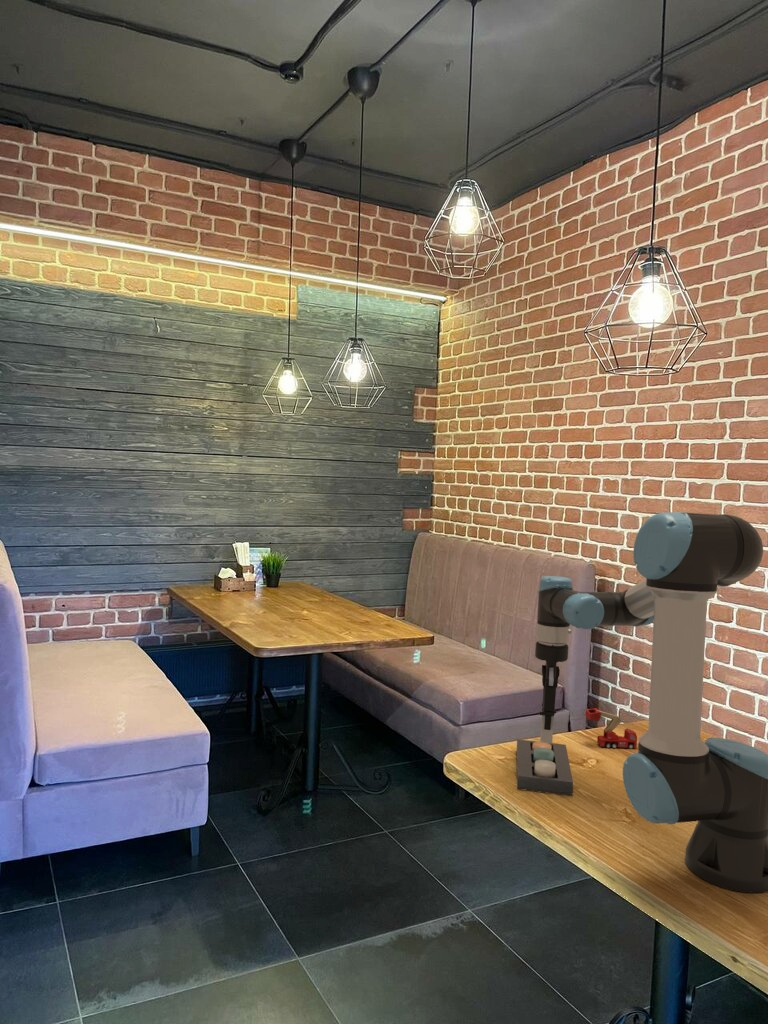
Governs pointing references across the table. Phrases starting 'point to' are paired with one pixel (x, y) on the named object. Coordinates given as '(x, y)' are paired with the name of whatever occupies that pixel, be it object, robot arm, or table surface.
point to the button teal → (543, 754)
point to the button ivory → (544, 768)
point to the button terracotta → (541, 745)
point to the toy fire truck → (609, 735)
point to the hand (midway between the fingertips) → (546, 741)
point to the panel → (544, 784)
